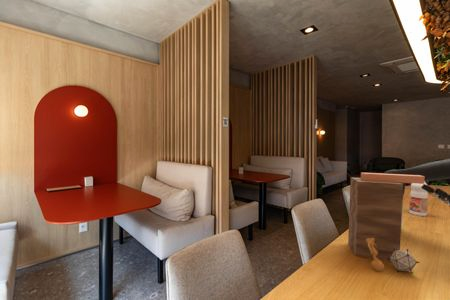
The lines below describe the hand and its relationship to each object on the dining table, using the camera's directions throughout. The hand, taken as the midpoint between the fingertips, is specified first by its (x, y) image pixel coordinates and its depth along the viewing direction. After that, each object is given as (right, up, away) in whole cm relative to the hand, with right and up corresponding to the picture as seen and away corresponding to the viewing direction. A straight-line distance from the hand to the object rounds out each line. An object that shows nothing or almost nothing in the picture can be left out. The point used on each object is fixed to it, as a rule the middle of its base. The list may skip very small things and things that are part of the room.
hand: (428, 187), depth 93 cm
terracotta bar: (-13, +2, +3) cm, 14 cm away
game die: (-17, -30, -8) cm, 36 cm away
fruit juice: (+48, -29, +61) cm, 83 cm away
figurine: (-27, -30, -7) cm, 41 cm away
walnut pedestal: (-20, -30, +6) cm, 36 cm away
